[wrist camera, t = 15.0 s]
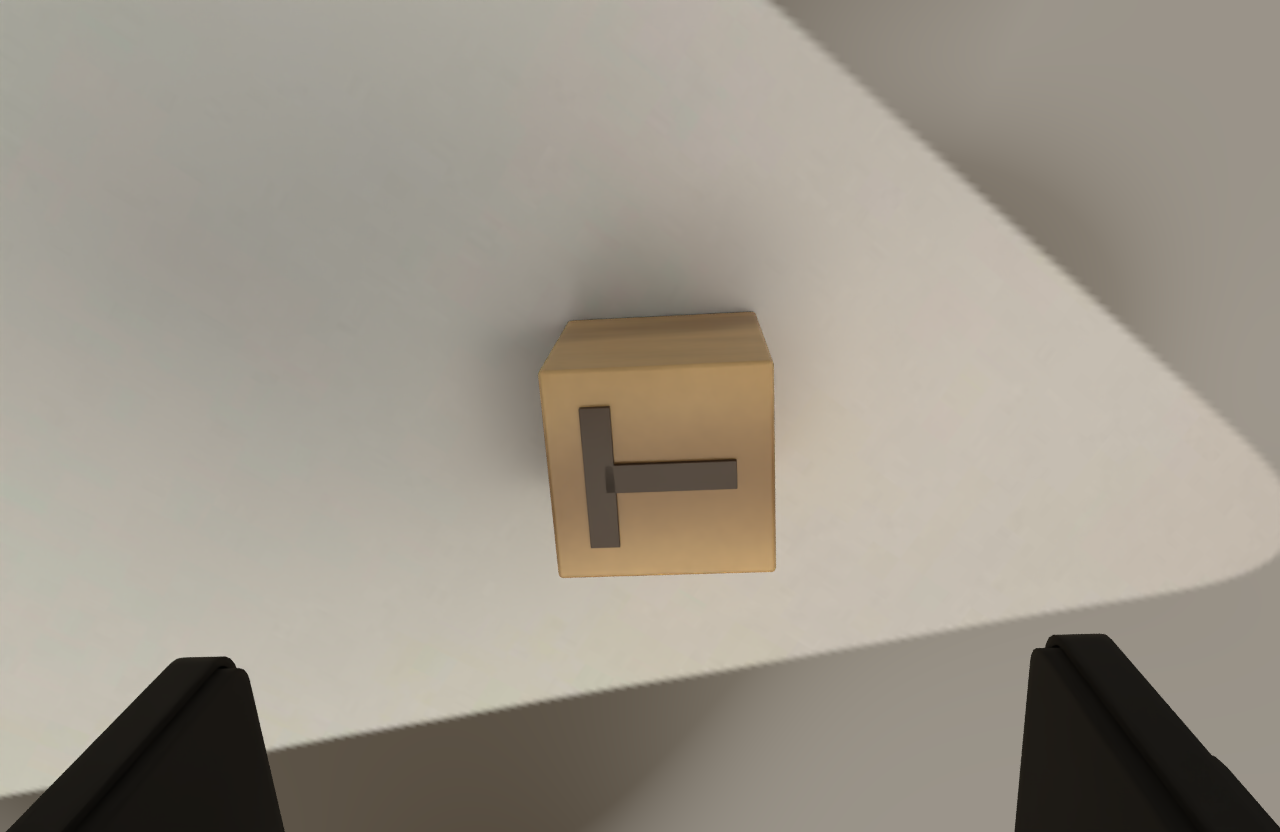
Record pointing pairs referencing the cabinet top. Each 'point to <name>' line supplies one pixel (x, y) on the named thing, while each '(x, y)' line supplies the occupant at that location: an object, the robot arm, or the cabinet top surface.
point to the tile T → (661, 446)
